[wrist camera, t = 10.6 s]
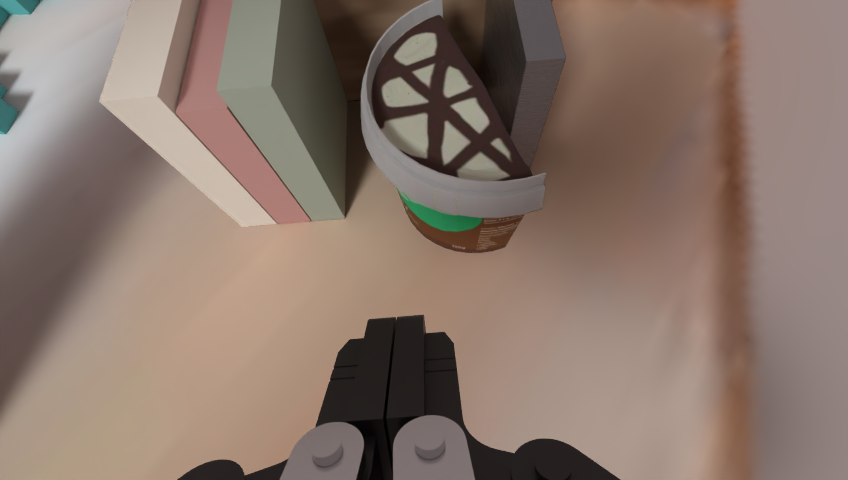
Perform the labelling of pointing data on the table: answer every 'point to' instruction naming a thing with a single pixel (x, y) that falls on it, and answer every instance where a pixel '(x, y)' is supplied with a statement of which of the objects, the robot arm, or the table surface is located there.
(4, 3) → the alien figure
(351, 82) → the shelf wall
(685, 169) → the table surface
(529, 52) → the bookend
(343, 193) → the row of books
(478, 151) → the food container
